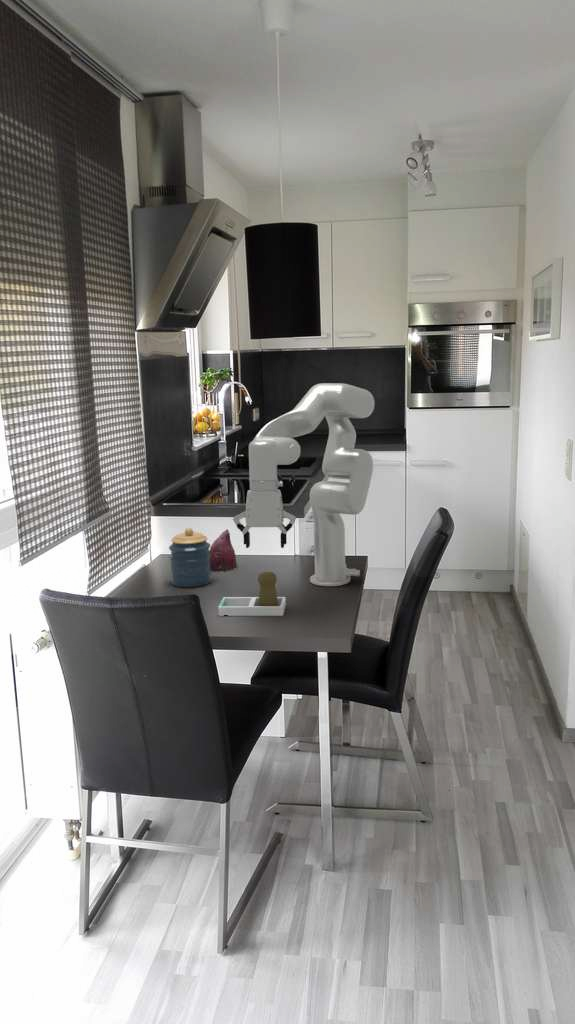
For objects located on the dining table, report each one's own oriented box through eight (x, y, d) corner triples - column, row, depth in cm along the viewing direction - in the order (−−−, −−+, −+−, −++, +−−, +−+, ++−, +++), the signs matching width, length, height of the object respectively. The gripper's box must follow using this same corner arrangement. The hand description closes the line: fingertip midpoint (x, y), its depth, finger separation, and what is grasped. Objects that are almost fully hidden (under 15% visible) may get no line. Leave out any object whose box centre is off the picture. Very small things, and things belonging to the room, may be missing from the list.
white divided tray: (285, 605, 236) (285, 596, 236) (283, 615, 227) (282, 607, 227) (223, 605, 238) (223, 597, 237) (218, 615, 229) (218, 607, 228)
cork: (276, 614, 229) (275, 576, 226) (255, 613, 230) (253, 575, 228) (281, 607, 234) (279, 570, 232) (260, 606, 236) (259, 569, 233)
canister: (192, 574, 271) (189, 521, 268) (220, 580, 263) (218, 526, 260) (162, 583, 262) (159, 529, 258) (191, 590, 253) (187, 534, 250)
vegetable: (241, 574, 281) (251, 533, 277) (223, 578, 272) (234, 535, 268) (217, 563, 286) (227, 523, 282) (198, 567, 277) (209, 525, 273)
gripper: (296, 483, 228) (297, 543, 231) (234, 483, 229) (236, 543, 233) (294, 487, 220) (295, 550, 224) (230, 488, 222) (232, 550, 225)
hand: (265, 546), depth 228 cm, fingers open, 9 cm apart
